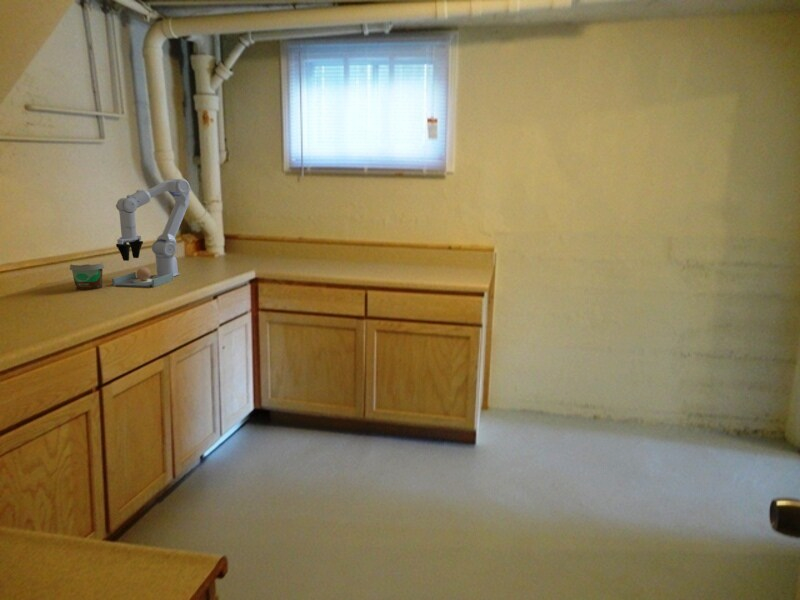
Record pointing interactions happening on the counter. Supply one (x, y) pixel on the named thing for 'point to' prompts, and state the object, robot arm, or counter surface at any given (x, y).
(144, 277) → the ball
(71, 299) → the counter surface
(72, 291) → the counter surface
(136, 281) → the mat
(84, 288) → the food container
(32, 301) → the counter surface
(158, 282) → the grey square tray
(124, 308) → the counter surface
